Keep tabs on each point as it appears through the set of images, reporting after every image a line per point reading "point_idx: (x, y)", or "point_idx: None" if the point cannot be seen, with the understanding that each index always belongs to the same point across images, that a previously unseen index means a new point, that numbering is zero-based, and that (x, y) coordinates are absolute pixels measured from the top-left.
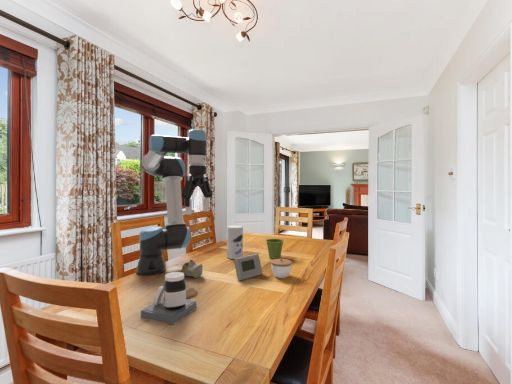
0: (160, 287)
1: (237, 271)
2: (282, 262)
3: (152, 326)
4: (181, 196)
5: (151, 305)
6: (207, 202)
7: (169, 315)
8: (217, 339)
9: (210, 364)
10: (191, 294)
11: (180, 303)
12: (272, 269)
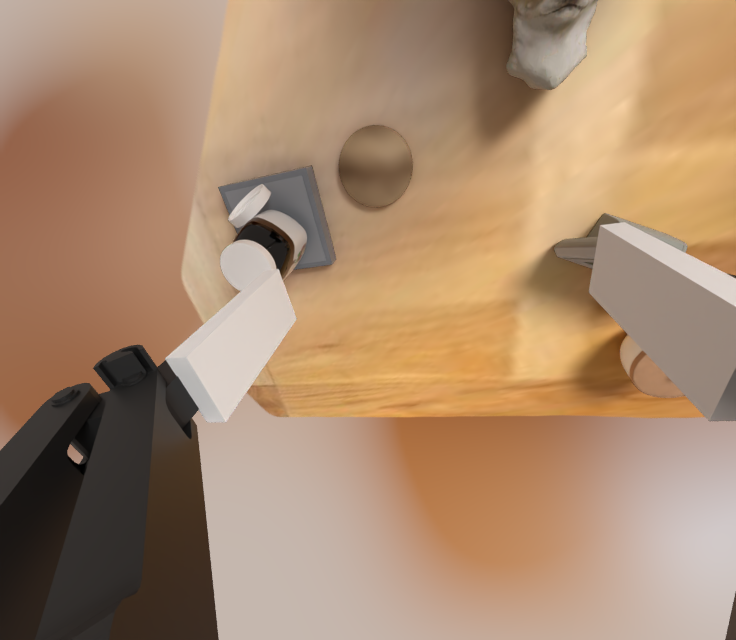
0: (238, 218)
1: (568, 250)
2: (659, 378)
3: (231, 239)
4: (54, 396)
5: (245, 188)
6: (653, 349)
7: None
8: (286, 352)
9: None
10: (371, 203)
11: None
12: None
